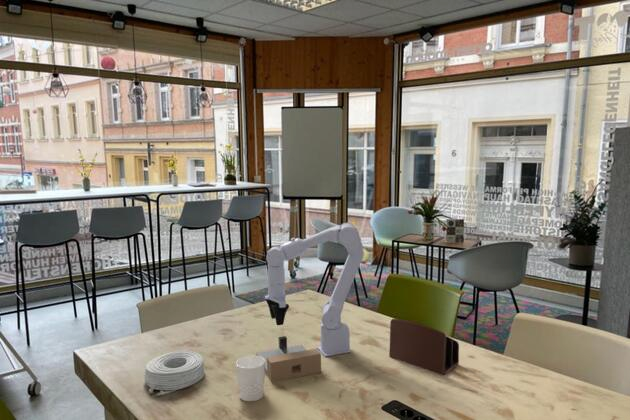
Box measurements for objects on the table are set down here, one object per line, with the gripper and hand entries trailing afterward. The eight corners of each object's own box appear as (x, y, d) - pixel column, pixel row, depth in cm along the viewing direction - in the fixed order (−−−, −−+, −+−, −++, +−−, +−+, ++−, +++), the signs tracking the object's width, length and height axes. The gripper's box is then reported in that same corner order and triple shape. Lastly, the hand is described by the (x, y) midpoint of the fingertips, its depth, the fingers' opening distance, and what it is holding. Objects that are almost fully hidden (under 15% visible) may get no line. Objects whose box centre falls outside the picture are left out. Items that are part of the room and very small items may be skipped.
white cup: (260, 404, 122) (259, 369, 121) (233, 401, 124) (231, 366, 122) (269, 389, 130) (268, 356, 128) (243, 386, 131) (242, 354, 130)
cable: (151, 400, 125) (150, 380, 124) (139, 374, 140) (137, 356, 139) (212, 383, 134) (211, 363, 133) (194, 360, 149) (194, 343, 148)
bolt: (278, 351, 150) (277, 336, 150) (285, 350, 151) (284, 335, 150) (287, 364, 141) (286, 348, 140) (294, 363, 142) (294, 347, 141)
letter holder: (444, 376, 136) (445, 332, 134) (388, 357, 149) (389, 316, 148) (459, 365, 143) (460, 322, 141) (404, 347, 157) (405, 308, 155)
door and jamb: (256, 356, 150) (256, 339, 150) (301, 348, 156) (301, 332, 155) (270, 382, 134) (270, 362, 133) (321, 372, 139) (320, 353, 139)
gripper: (259, 278, 157) (260, 315, 159) (270, 290, 144) (271, 330, 146) (278, 276, 160) (279, 313, 162) (291, 287, 146) (292, 327, 148)
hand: (277, 321), depth 154 cm, fingers open, 6 cm apart
